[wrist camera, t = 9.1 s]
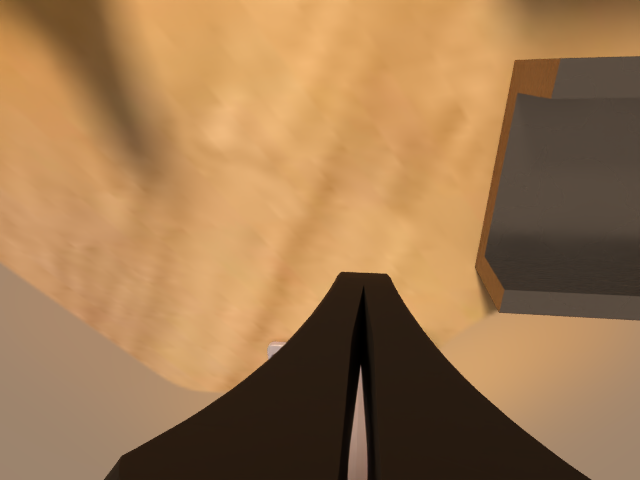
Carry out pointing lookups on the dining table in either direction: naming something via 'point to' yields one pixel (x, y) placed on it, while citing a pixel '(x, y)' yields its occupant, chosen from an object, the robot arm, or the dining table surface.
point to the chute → (566, 192)
